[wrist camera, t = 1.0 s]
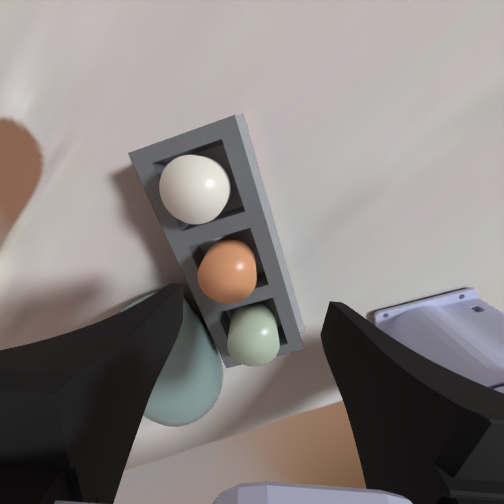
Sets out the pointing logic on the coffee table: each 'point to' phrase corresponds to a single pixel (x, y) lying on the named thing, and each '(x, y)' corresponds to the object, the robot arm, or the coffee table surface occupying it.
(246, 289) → the orange egg
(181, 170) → the white egg
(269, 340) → the pale green egg
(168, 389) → the cup
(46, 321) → the coffee table surface
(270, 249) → the gray compartment tray
